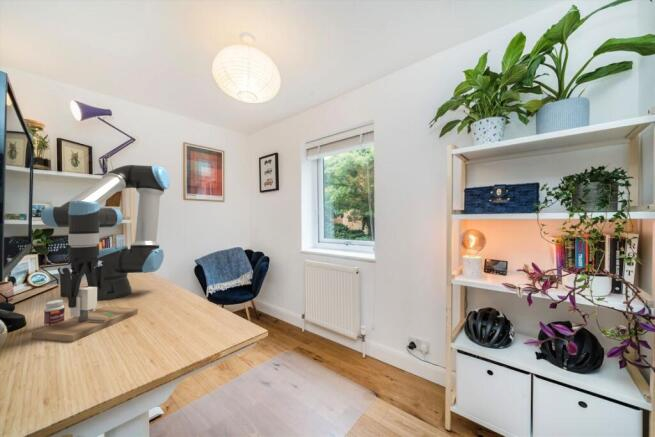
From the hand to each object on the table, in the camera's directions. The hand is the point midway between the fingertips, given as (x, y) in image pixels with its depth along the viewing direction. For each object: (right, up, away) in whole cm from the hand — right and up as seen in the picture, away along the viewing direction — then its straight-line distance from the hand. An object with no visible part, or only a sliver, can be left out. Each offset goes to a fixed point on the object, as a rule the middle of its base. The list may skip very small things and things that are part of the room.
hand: (83, 313), depth 84 cm
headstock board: (+1, -5, +2) cm, 5 cm away
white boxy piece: (+2, -2, 0) cm, 3 cm away
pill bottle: (-11, -5, +1) cm, 12 cm away
